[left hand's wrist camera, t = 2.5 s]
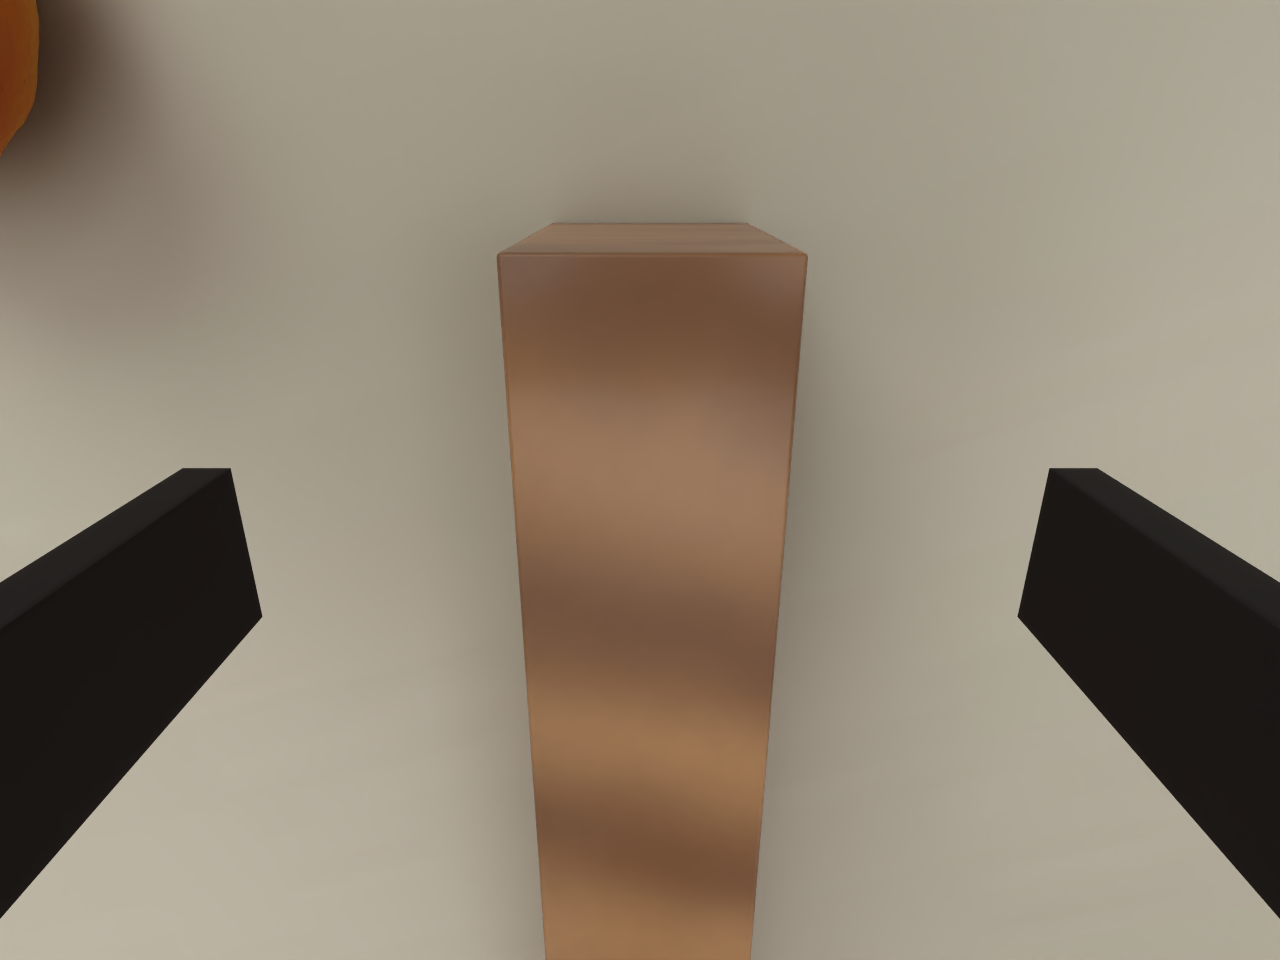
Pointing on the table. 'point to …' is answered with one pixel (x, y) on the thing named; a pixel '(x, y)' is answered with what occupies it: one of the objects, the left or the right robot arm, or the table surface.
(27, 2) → the fruit
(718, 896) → the beam
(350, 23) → the table surface
